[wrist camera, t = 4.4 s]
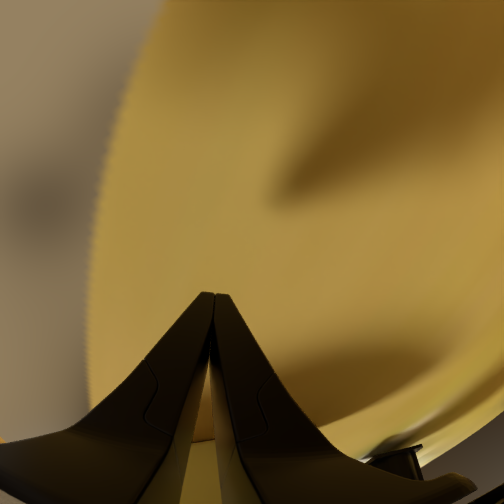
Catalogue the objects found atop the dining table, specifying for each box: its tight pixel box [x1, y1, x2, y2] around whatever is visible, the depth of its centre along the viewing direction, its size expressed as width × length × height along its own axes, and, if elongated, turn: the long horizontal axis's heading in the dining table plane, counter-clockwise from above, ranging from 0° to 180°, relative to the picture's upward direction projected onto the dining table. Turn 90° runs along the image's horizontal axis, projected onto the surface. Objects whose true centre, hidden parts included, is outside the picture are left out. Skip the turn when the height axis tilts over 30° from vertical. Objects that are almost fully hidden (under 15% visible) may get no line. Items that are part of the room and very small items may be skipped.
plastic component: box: [179, 440, 222, 504], centre depth 16 cm, size 20×7×10 cm, turn 117°
